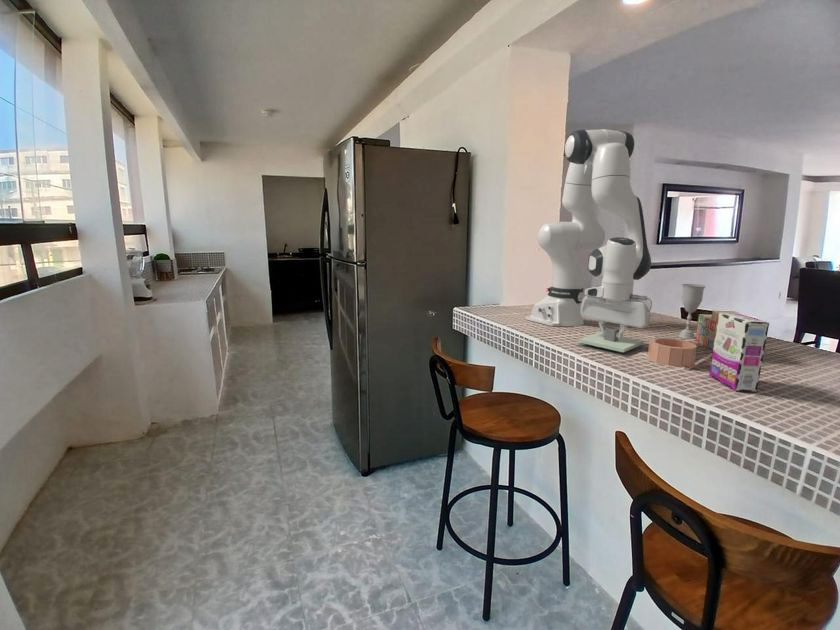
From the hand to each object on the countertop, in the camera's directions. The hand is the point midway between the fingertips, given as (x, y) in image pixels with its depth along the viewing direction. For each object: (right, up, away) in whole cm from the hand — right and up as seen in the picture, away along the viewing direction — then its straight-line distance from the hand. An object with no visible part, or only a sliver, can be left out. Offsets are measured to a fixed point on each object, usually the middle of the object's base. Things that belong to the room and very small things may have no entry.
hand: (611, 336), depth 131 cm
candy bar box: (+16, -10, -29) cm, 35 cm away
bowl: (+11, -7, -13) cm, 18 cm away
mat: (0, -4, 0) cm, 4 cm away
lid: (0, -2, 0) cm, 2 cm away
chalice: (+33, -1, +16) cm, 37 cm away
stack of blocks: (+34, -5, 0) cm, 34 cm away
